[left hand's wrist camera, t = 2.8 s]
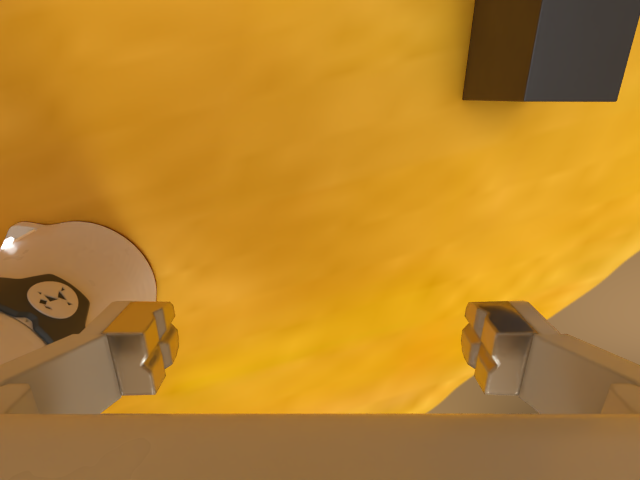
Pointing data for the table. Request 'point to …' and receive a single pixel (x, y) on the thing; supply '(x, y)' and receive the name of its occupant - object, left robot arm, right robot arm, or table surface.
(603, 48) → the box
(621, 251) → the table surface
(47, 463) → the left robot arm
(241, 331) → the table surface
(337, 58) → the table surface
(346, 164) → the table surface
